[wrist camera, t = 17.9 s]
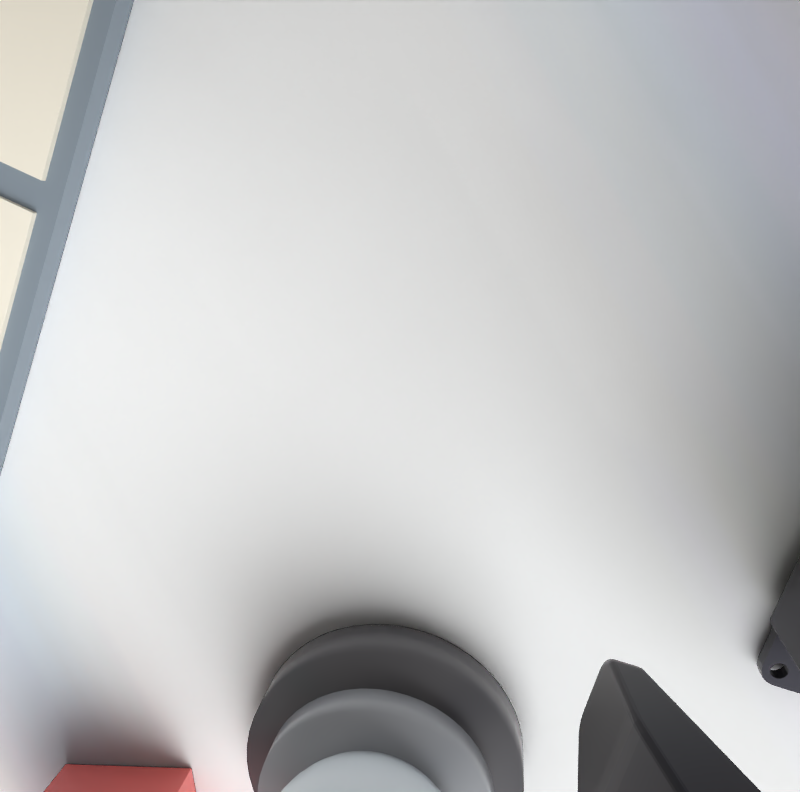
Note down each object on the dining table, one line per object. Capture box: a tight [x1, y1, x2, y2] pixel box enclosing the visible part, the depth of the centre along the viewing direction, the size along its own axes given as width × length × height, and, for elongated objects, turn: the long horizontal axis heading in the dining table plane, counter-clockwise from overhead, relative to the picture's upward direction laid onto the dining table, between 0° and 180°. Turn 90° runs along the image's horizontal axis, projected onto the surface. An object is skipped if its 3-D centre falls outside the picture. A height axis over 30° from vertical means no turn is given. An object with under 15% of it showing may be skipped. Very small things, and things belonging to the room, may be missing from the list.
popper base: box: [247, 624, 524, 792], centre depth 24 cm, size 9×9×2 cm
